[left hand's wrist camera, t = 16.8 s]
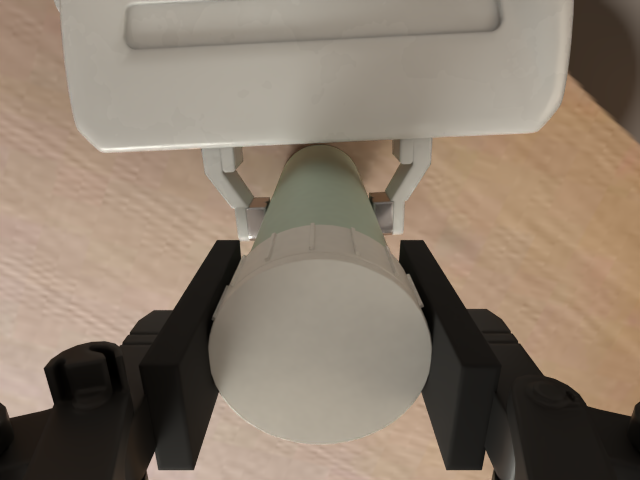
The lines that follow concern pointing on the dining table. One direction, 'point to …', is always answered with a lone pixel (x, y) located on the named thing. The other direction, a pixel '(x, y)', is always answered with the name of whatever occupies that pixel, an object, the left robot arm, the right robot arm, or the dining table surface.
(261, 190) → the dining table surface
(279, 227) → the jar
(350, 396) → the lid
